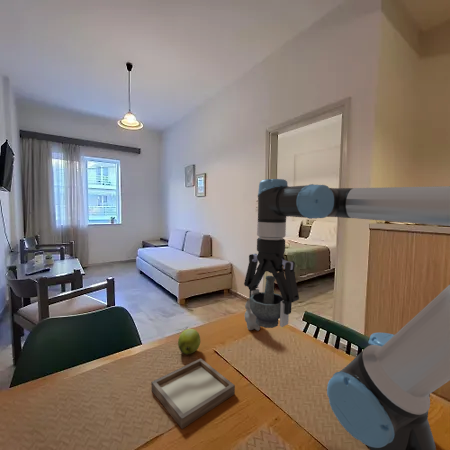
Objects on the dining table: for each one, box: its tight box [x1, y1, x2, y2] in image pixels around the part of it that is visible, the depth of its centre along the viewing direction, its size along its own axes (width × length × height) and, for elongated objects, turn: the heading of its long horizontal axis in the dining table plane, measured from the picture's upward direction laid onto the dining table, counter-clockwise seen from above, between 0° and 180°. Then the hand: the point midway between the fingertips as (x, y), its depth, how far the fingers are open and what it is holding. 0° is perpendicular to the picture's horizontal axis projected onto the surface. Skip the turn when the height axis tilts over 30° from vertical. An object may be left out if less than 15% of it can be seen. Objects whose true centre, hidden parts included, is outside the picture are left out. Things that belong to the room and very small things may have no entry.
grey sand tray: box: [150, 358, 236, 430], centre depth 71 cm, size 16×17×3 cm
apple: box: [177, 328, 201, 355], centre depth 90 cm, size 8×9×8 cm
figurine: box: [244, 297, 261, 332], centre depth 106 cm, size 9×10×15 cm
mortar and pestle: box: [250, 275, 283, 329], centre depth 70 cm, size 11×9×12 cm
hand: (268, 318), depth 70 cm, fingers closed on mortar and pestle, 10 cm apart
